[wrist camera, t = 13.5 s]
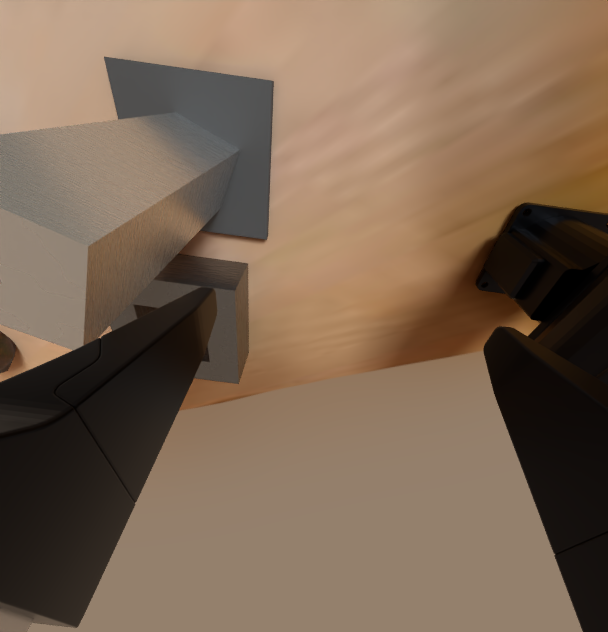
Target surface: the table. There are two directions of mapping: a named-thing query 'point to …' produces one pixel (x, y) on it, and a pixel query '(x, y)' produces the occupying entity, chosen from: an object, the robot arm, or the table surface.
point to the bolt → (6, 352)
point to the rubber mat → (210, 128)
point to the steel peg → (99, 217)
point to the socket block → (232, 309)
